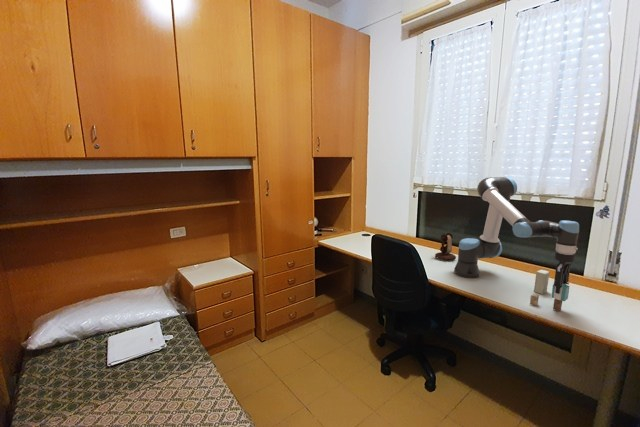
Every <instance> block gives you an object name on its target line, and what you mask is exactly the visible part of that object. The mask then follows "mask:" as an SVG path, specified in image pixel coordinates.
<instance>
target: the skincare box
mask: <svg viewBox="0 0 640 427" xmlns="http://www.w3.org/2000/svg"><path fill="white" fill-rule="evenodd" d="M535 272H536V275H535V279H534V280H535V281H534V285H533V287H534V288H533V292H535V293H539V294H541V295H543V294H544V293H546V292H548V286H549V279H550V271H549V270H545V269H539V270H537V271H535Z"/></svg>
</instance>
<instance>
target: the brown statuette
mask: <svg viewBox="0 0 640 427" xmlns="http://www.w3.org/2000/svg"><path fill="white" fill-rule="evenodd" d="M440 239H441V243H440V244H441V246H440V248H439V250H440V252H436V253H435V254H434V256H435V259H440V260H445V261H448V262H449V261H454V260H456V259H457V256H456V255H455V254H453V253H452V250H453V246H452V245H453V243H452V241H453V234H452V233H450V232H447V233H446V234H445V233H443V234H441V236H440Z"/></svg>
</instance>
